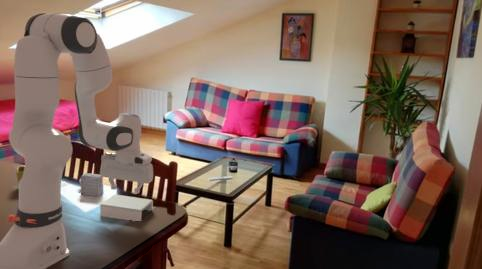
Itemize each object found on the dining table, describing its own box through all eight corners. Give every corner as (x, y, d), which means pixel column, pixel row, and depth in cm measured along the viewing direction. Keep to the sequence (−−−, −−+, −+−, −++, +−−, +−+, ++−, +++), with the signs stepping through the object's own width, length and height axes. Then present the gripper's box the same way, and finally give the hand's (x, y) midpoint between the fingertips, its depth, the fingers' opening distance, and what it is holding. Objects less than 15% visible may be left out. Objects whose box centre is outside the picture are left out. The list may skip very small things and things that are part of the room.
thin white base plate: (140, 222, 145) (140, 212, 144) (100, 216, 147) (100, 206, 147) (152, 210, 157) (152, 201, 156) (115, 205, 159) (115, 195, 158)
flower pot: (18, 186, 171) (18, 166, 169) (40, 184, 175) (40, 165, 173) (16, 192, 163) (16, 172, 162) (40, 191, 167) (39, 171, 165)
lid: (140, 212, 144) (140, 210, 144) (100, 206, 147) (100, 204, 147) (152, 201, 156) (152, 199, 155) (115, 196, 158) (115, 194, 158)
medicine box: (102, 193, 171) (103, 174, 169) (98, 197, 167) (98, 177, 165) (85, 191, 172) (85, 172, 170) (80, 194, 167) (80, 175, 166)
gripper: (97, 153, 145) (95, 189, 147) (149, 161, 142) (147, 197, 144) (106, 150, 151) (104, 184, 153) (156, 157, 148) (153, 192, 150)
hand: (125, 190), depth 149 cm, fingers open, 8 cm apart
